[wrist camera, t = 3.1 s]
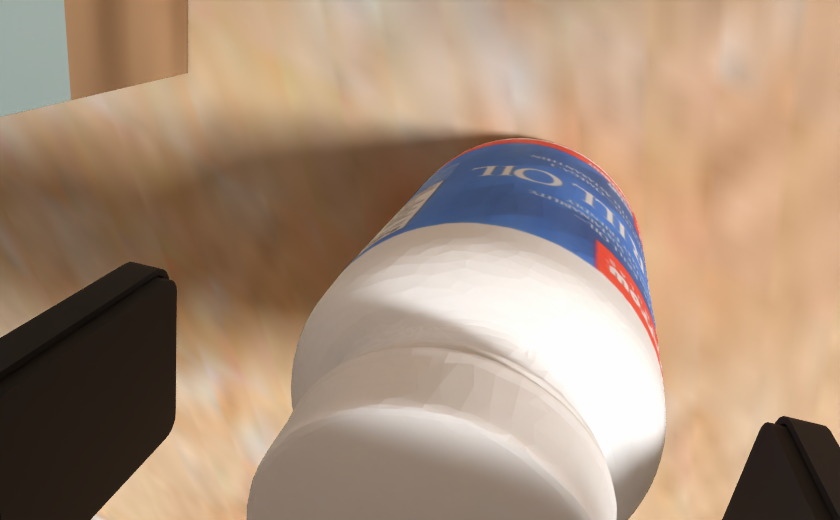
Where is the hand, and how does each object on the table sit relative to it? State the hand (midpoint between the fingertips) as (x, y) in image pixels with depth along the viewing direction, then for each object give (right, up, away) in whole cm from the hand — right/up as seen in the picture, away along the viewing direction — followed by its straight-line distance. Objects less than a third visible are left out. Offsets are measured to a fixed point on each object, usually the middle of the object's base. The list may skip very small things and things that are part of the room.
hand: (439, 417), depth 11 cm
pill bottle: (+2, +3, +5) cm, 6 cm away
